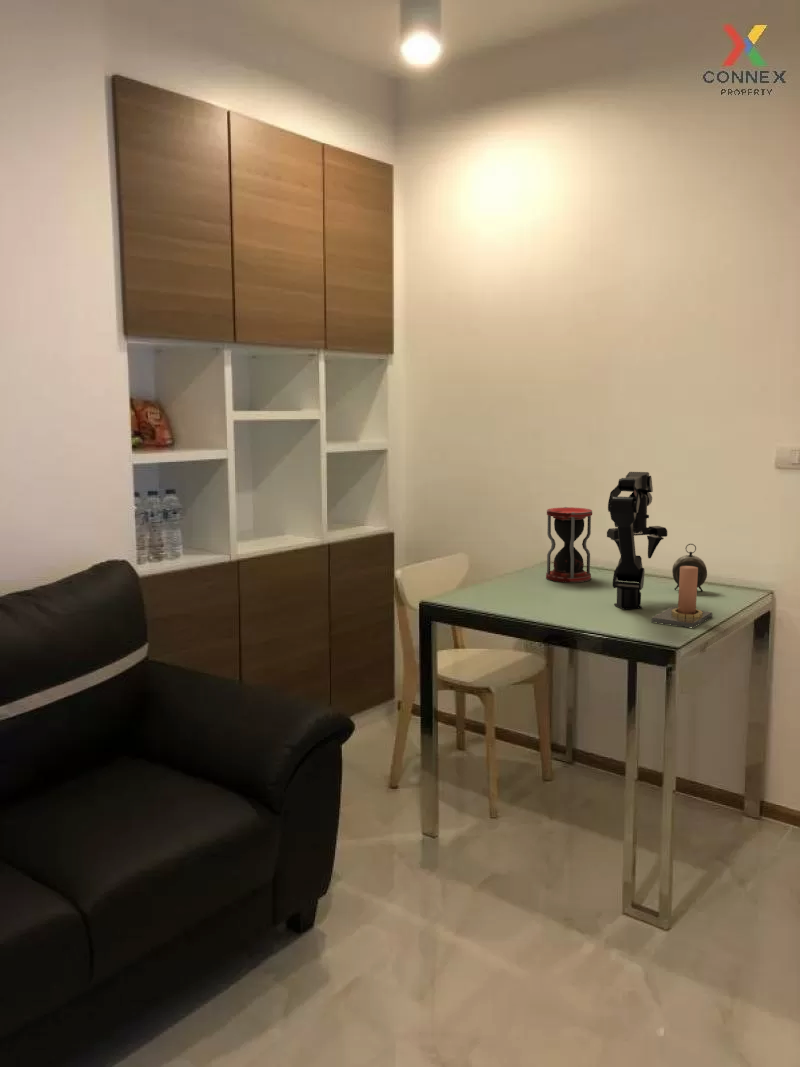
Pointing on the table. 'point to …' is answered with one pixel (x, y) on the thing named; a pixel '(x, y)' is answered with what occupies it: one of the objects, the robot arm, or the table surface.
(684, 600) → the orange tapered capsule
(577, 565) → the hourglass
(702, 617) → the plate
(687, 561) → the alarm clock
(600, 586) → the table surface
